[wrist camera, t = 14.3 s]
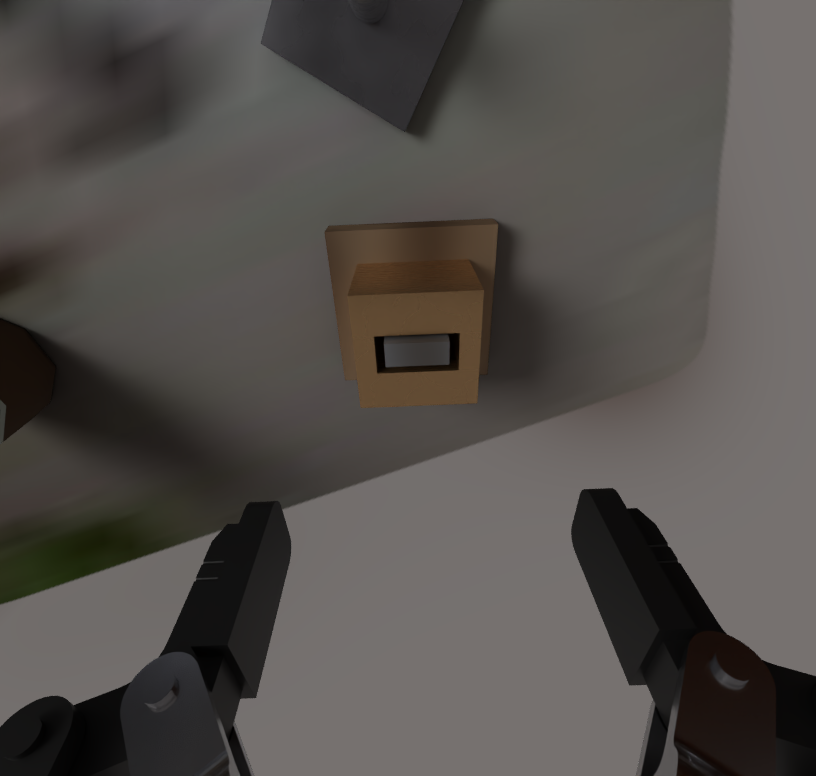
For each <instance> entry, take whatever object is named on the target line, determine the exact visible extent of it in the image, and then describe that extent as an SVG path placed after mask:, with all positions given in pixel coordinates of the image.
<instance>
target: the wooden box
mask: <svg viewBox="0 0 816 776" xmlns="http://www.w3.org/2000/svg"><path fill="white" fill-rule="evenodd" d="M497 234H498V223H497V222H496V221H495V220H494V219H474V220H452V221H429V222H406V223H384V224H361V225H339V226H328V228H327V229H326V231H325V239H326V246H327V253H328V260H329V267H330V275H331V282H332V289H333V296H334V303H335V311H336V318H337V325H338V332H339V339H340V347H341V354H342V361H343V368H344V375H345V380H357V373H356V364H355V356H354V348H353V339H352V331H351V323H350V315H349V306H348V298H347V295H348V292H349V289H350V286H351V282H352V279H353V276H354V273H355V270H356V266H357V264H367V263H390V262H413V261H436V260H459V259H469V261H470V263H471V265H472V267H473V269H474V271H475V273H476V275H477V277H478V279H479V281H480V283H481V285H482V287H483V289H484V298H483V314H482V331H481V348H480V365H479V375H486V374H488V360H489V346H490V332H491V318H492V304H493V290H494V276H495V262H496V248H497ZM449 350H450V341H449V337H448V333H445V334H421V335H397V336H385V337H384V352H385V365H386V367H402V366H426V365H449Z"/></svg>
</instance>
